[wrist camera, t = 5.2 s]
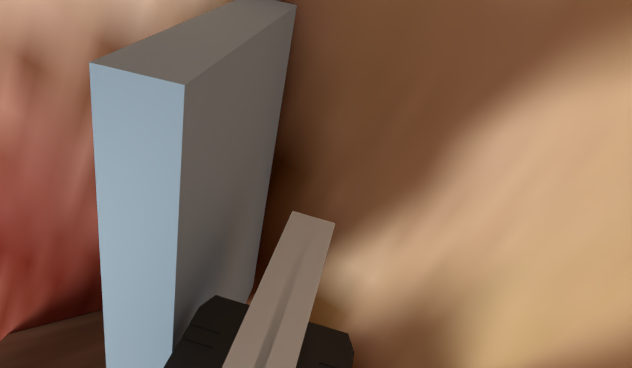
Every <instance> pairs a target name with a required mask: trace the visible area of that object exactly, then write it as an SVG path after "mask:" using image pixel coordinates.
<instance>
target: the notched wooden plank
mask: <svg viewBox="0 0 632 368" xmlns="http://www.w3.org/2000/svg"><path fill="white" fill-rule="evenodd" d="M0 368H106V354H105V336H104V318H103V310H100V311H96V312H93V313H89V314H85V315H81V316H77V317H73V318H69V319H65V320H61V321H57V322H54V323H50V324H46V325H42V326H38V327H34V328H30V329H26V330H22V331H18V332H15V333H11V334H7V335H6V336H5V337H4V338H3V339H2V340H1V341H0Z"/></svg>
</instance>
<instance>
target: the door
mask: <svg viewBox="0 0 632 368" xmlns="http://www.w3.org/2000/svg"><path fill="white" fill-rule="evenodd" d="M296 8H297V5H295V4H290V3H286V2H281V1H277V0H235V1H232V2H230V3H228V4H225V5H223V6H221V7H218V8H216V9H214V10H211V11H209V12H207V13H204V14H202V15H199V16H197V17H195V18H192V19H190V20H188V21H185V22H183V23H181V24H178V25H176V26H174V27H171V28H169V29H166V30H164V31H162V32H159V33H157V34H155V35H152V36H150V37H148V38H145V39H143V40H141V41H138V42H136V43H134V44H131V45H129V46H126V47H124V48H122V49H119V50H117V51H115V52H112V53H110V54H108V55H105V56H103V57H101V58H98V59H96V60H94V61H91V62H89V67H90V85H91V103H92V121H93V139H94V157H95V175H96V193H97V210H98V228H99V246H100V264H101V282H102V300H103V318H104V336H105V354H106V368H163V367H164V366H165V364H166V362H167V361H168V359H169V357H170V356H171V354H172V352H173V350H174V349H175V347H176V345H177V344H178V342H179V341H180V340H181V337H182V335H183V333H184V332H185V330H186V328H187V327H188V326H189V323H190V321H191V320H192V318H193V316H194V315H195V313H196V311H197V310H198V308H199V307H200V306H201V305H202V304H204V303H205V302H207V301H208V300H209V299H211V298H212V297H213V296H215V295H218V296H221V297H224V298H227V299H231V300H234V301H237V302H241V303H244V304H246V302H247V300H248V297H249V295H250V293H251V290H252V288H253V283H254V276H255V270H256V264H257V257H258V251H259V244H260V238H261V232H262V225H263V219H264V213H265V206H266V200H267V193H268V187H269V181H270V174H271V168H272V162H273V155H274V149H275V142H276V136H277V130H278V123H279V117H280V111H281V104H282V98H283V91H284V85H285V79H286V72H287V66H288V59H289V53H290V47H291V40H292V34H293V28H294V21H295V15H296Z"/></svg>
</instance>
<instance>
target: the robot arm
mask: <svg viewBox="0 0 632 368" xmlns="http://www.w3.org/2000/svg"><path fill="white" fill-rule="evenodd" d="M334 227H335V223H333V222H330V221H326V220H323V219H319V218H316V217H312V216H309V215H305V214H302V213H298V212H295V211H292V213H291V215H290V217H289V220H288V222H287V224H286V226H285V229H284V231H283V233H282V235H281V237H280V240H279V242H278V244H277V246H276V249H275V251H274V253H273V255H272V257H271V260H270V262H269V264H268V266H267V269H266V271H265V273H264V275H263V277H262V280H261V282H260V284H259V286H258V289H257V291H256V293H255V295H254V297H253V300H252V302H251V304H250V305H247V304H244V303H241V302H237V301H234V300H231V299H227V298H224V297H221V296H218V295H215V296H213V297H212V298H211V299H209V300H208V301H207V302H205V303H204V304H202V305H201V306H200V307H199V308H198V310H197V311H196V313H195V315H194V316H193V318H192V320H191V321H190V323H189V326H188V327H187V328H186V330H185V332H184V333H183V335H182V337H181V340H180V341H179V342H178V344H177V345H176V347H175V349H174V350H173V352H172V354H171V356H170V357H169V359H168V361H167V362H166V364H165V366H164V367H163V368H352V364H353V357H354V351H353V348H352V345H351V341H350V338H349V335H348V333H344V332H341V331H338V330H334V329H331V328H328V327H324V326H321V325H318V324H315V323H311V322H308V321H309V317H310V314H311V310H312V307H313V303H314V299H315V296H316V292H317V288H318V285H319V281H320V278H321V274H322V270H323V267H324V263H325V260H326V256H327V252H328V249H329V245H330V241H331V238H332V234H333V231H334Z"/></svg>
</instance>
